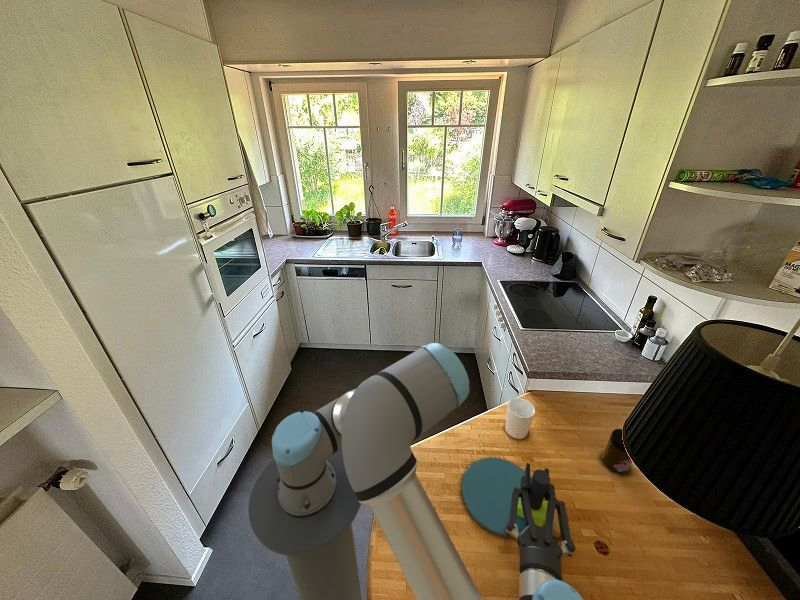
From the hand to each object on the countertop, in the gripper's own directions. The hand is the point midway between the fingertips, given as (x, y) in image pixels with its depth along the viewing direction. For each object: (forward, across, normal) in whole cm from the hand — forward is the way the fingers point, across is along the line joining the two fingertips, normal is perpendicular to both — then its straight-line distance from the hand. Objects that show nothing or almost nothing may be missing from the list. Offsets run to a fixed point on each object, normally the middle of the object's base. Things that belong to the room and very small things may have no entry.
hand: (536, 469), depth 80 cm
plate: (-3, -7, -10) cm, 12 cm away
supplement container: (+17, +23, -10) cm, 30 cm away
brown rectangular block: (-6, +5, -9) cm, 12 cm away
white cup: (+20, -4, -10) cm, 22 cm away
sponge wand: (-5, 0, -8) cm, 10 cm away
